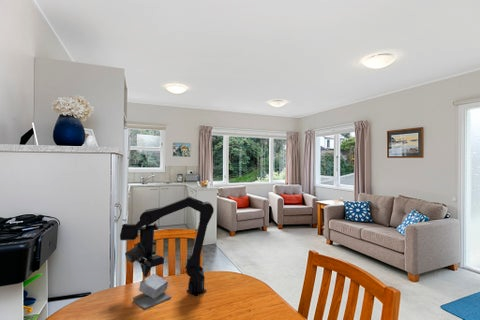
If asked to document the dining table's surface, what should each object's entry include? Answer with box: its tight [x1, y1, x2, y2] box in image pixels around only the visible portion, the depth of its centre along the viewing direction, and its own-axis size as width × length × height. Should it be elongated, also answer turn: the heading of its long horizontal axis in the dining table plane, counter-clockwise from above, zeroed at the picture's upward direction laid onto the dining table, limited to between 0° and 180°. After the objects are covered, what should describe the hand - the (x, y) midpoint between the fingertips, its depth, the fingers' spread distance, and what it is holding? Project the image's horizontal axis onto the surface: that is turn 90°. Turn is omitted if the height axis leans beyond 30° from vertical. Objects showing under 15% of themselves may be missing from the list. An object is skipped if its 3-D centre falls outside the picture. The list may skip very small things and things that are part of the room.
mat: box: [132, 292, 172, 311], centre depth 107 cm, size 12×9×2 cm
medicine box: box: [138, 273, 169, 299], centre depth 111 cm, size 8×4×9 cm
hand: (145, 276), depth 111 cm, fingers closed
